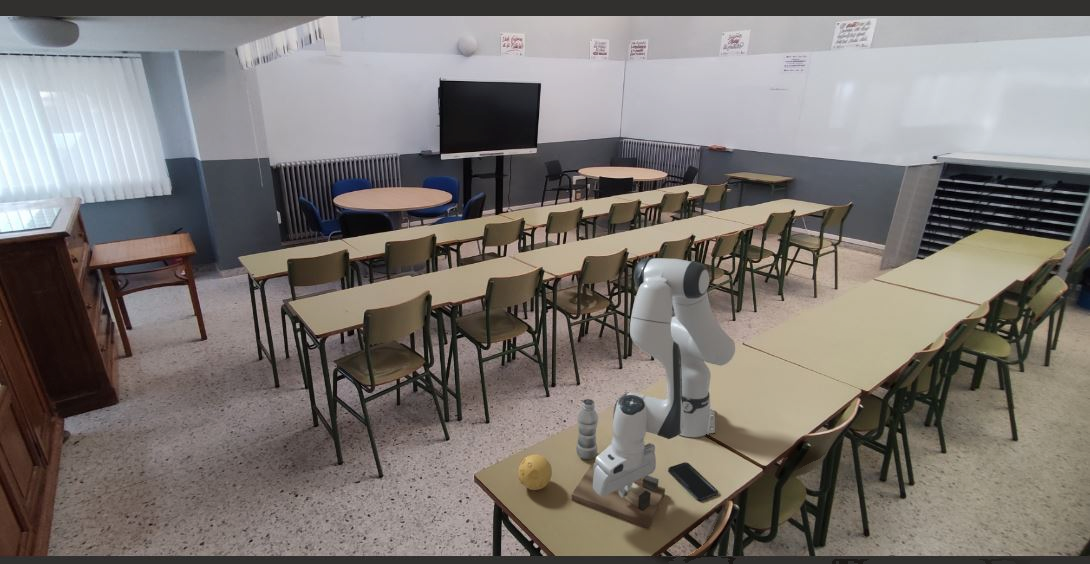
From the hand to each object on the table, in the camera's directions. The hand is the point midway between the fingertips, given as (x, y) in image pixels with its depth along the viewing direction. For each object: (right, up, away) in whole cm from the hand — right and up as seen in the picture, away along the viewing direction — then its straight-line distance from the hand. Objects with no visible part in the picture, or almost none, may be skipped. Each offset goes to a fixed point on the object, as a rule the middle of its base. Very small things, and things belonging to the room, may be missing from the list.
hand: (623, 495), depth 146 cm
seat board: (-1, -3, +5) cm, 6 cm away
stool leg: (-1, -1, +5) cm, 5 cm away
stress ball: (-25, -1, +9) cm, 27 cm away
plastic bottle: (-9, +3, +23) cm, 24 cm away
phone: (+22, -1, +12) cm, 25 cm away
